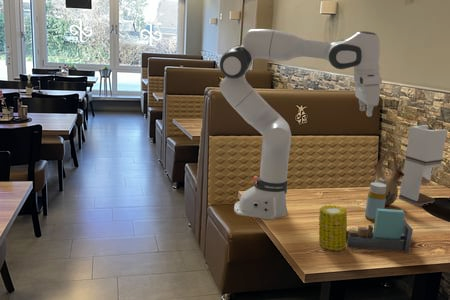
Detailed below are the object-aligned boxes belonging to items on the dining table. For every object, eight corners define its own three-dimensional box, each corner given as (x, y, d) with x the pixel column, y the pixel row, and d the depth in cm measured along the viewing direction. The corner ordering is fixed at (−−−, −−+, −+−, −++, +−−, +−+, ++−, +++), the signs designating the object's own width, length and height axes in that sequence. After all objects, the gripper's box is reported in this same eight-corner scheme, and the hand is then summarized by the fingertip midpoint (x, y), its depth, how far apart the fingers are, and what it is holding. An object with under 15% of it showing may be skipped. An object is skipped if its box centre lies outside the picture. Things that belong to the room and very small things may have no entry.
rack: (348, 248, 152) (351, 225, 150) (343, 238, 160) (346, 216, 157) (408, 253, 151) (412, 229, 149) (401, 243, 159) (404, 220, 156)
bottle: (383, 222, 176) (388, 188, 173) (365, 220, 178) (370, 186, 174) (381, 216, 183) (386, 182, 179) (364, 214, 184) (368, 180, 180)
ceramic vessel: (404, 208, 193) (413, 154, 186) (390, 212, 188) (399, 156, 182) (375, 196, 206) (382, 146, 200) (362, 199, 202) (369, 147, 196)
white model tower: (418, 206, 197) (431, 131, 188) (398, 198, 206) (410, 126, 197) (434, 202, 202) (447, 129, 194) (414, 195, 211) (426, 125, 203)
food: (338, 258, 148) (312, 249, 154) (354, 241, 156) (329, 233, 162) (336, 220, 142) (310, 213, 149) (353, 204, 150) (327, 197, 156)
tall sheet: (373, 247, 154) (378, 210, 151) (371, 244, 156) (376, 208, 153) (398, 249, 154) (404, 212, 150) (396, 246, 156) (402, 210, 153)
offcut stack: (348, 245, 155) (350, 225, 153) (346, 242, 157) (349, 223, 155) (370, 246, 154) (373, 227, 152) (368, 244, 156) (371, 225, 155)
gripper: (351, 73, 169) (350, 108, 173) (364, 81, 150) (363, 120, 154) (367, 72, 169) (367, 107, 173) (383, 79, 149) (382, 118, 153)
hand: (365, 113), depth 163 cm, fingers open, 8 cm apart
